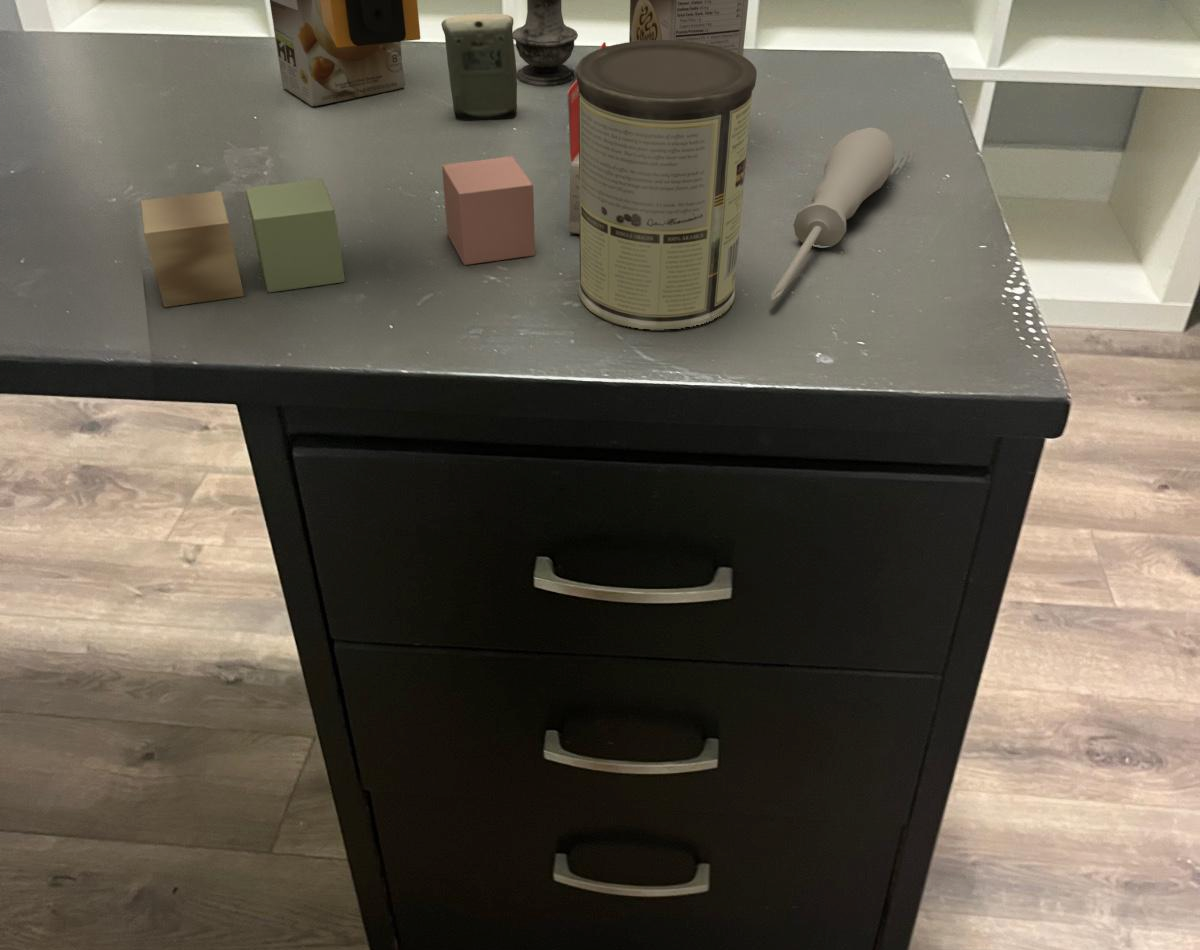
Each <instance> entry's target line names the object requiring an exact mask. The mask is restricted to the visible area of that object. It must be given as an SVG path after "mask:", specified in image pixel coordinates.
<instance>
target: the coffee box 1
mask: <svg viewBox="0 0 1200 950" xmlns="http://www.w3.org/2000/svg"><path fill="white" fill-rule="evenodd" d="M269 6H270V11H271V12H270V13H271V17H272V25H273V33H274V37H275V38H274V39H275V40H274V41H275V45H276V52H277V59H278V65H279V66H278V67H279V72H280V78H281V84H282V88H284V90H286V91H288V92H289V93H291V94H293V95H294V96H295V97H296V98H299V99H300V100H301V101H303V102H305V103H306V104H308V105H309V106H311V107H319V106H324V105H328V104H332V103H338V102H342V101H348V100H353V99H357V98H362V97H366V96H371V95H372V96H373V95H376V94H381V93H385V92H390V91H395V90H399V89H403V88H405V77H404V67H403V56H402V55H403V54H402V43H401V42H402V41H401V42H393V43H383V44H373V45H362V46H350V47H340V48H337V47H336V45H335V43H334V41H333V39H332V38H331V36H330V34H329V32H328V30H327V28H326V26H325V24H324V23H323V17H322V10H321V3H320V0H269Z"/></svg>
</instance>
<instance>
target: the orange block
mask: <svg viewBox="0 0 1200 950" xmlns="http://www.w3.org/2000/svg"><path fill="white" fill-rule="evenodd" d="M320 3H321V10H322V17H323V23H324V24H325V26H326V28H327V30H328V32H329V34H330V36H331V38H332V39H333V41H334V43H335V45H336V47H337V48H340V47H350V46H356V45H354V44H353V43H352V41H351V39H350V35H349V28H348V20H347V12H346V5H345V0H320ZM403 10H404V21H405V31H406V37H405V39H404V40H403V41H402V42H409V41H420V40H421V30H420V29H421V28H420V17H419V7H418V0H403Z"/></svg>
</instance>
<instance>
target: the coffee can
mask: <svg viewBox="0 0 1200 950" xmlns="http://www.w3.org/2000/svg"><path fill="white" fill-rule="evenodd" d="M757 72H758V71H757V68H756V66H755V65H754V64H753V63H752V62H751V61H750V60H749V59H748V58H746V57H745V56H744V55H743V56H741V55H740V54H737V53H735V52H733V51H730V50H727V49H724V48H721V47H718V46H713V45H709V44H703V43H698V42H689V41H677V40H643V41H634V42H629V41H628V42H623V43H622V42H621V43H616V44H612V45H610V46H606V47H605V48H602V49H599V48H598V49H596V50H594V51H592V52H590V53H588V54H587V55H585V56H584V57H583V58H581V59H580V60H579V62H578V63H577V65H576V72H575V73H576V74H575V75H576V80H577V83H578V86H579V186H580V234H579V285H578V294H579V299H580V302H582V304H583V306H585V307H586V308H587V310H588V311H590V312H591V313H592V314H594V315H596V316H597V317H598V318H600V319H602V320H605V321H607V322H610V323H611V324H614V325H617V326H623V327H626V326H627V328H629V327H631V328H630V329H634V328H638V329H637V330H643V329H650V330H649V331H665V330H664V329H678V330H682V329H681V328H683V329H686V328H685V327H690V328H694V327H697V326H696V325H699V326H702V325H701V324H703V325H705V324H707V323H710V322H712V321H715V320H716V319H715V318H717V317H718V318H720V317H722V316H723V315H724V314H726V312H727V311H728V310H729V309H730V308H731V307H732V305H733V303H734V301H735V297H736V289H735V288H736V274H737V265H738V264H737V263H738V252H739V244H740V232H741V220H742V206H743V197H744V185H745V176H746V165H747V156H748V143H749V131H750V121H751V110H752V109H751V108H752V98H753V91H754V89H755V87H756V81H757V76H758V75H757V74H758V73H757ZM730 306H731V307H730ZM723 313H724V314H723ZM722 314H723V315H722ZM719 316H720V317H719ZM718 318H717V319H718ZM714 319H715V320H714ZM709 321H710V322H709ZM706 322H707V323H706ZM704 323H705V324H704ZM693 326H694V327H693Z"/></svg>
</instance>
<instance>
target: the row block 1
mask: <svg viewBox="0 0 1200 950" xmlns="http://www.w3.org/2000/svg"><path fill="white" fill-rule="evenodd" d="M140 207H141V208H140V209H141V215H142V217H141V218H142V224H143V234H144V238H145V241H146V246H147V249H148V253H149V257H150V260H151V264H152V268H153V272H154V275H155V279H156V280H155V281H156V283H157V287H158V291H159V295H160V299H161V303H162V306H163V308H169V307H177V306H183V305H192V304H198V303H206V302H213V301H220V300H226V299H233V298H240V297H244V296H245V292H244V287H243V284H242V278H241V274H240V269H239V264H238V260H237V259H238V258H237V255H236V250H235V246H234V241H233V236H232V231H231V227H230V222H229V218H228V213H227V209H226V204H225V200H224V196H223V191H222V190H217V191H216V190H215V191H209V192H208V191H207V192H199V193H191V194H190V193H189V194H183V195H173V196H166V197H165V196H164V197H158V198H147V199H141V200H140Z"/></svg>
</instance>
